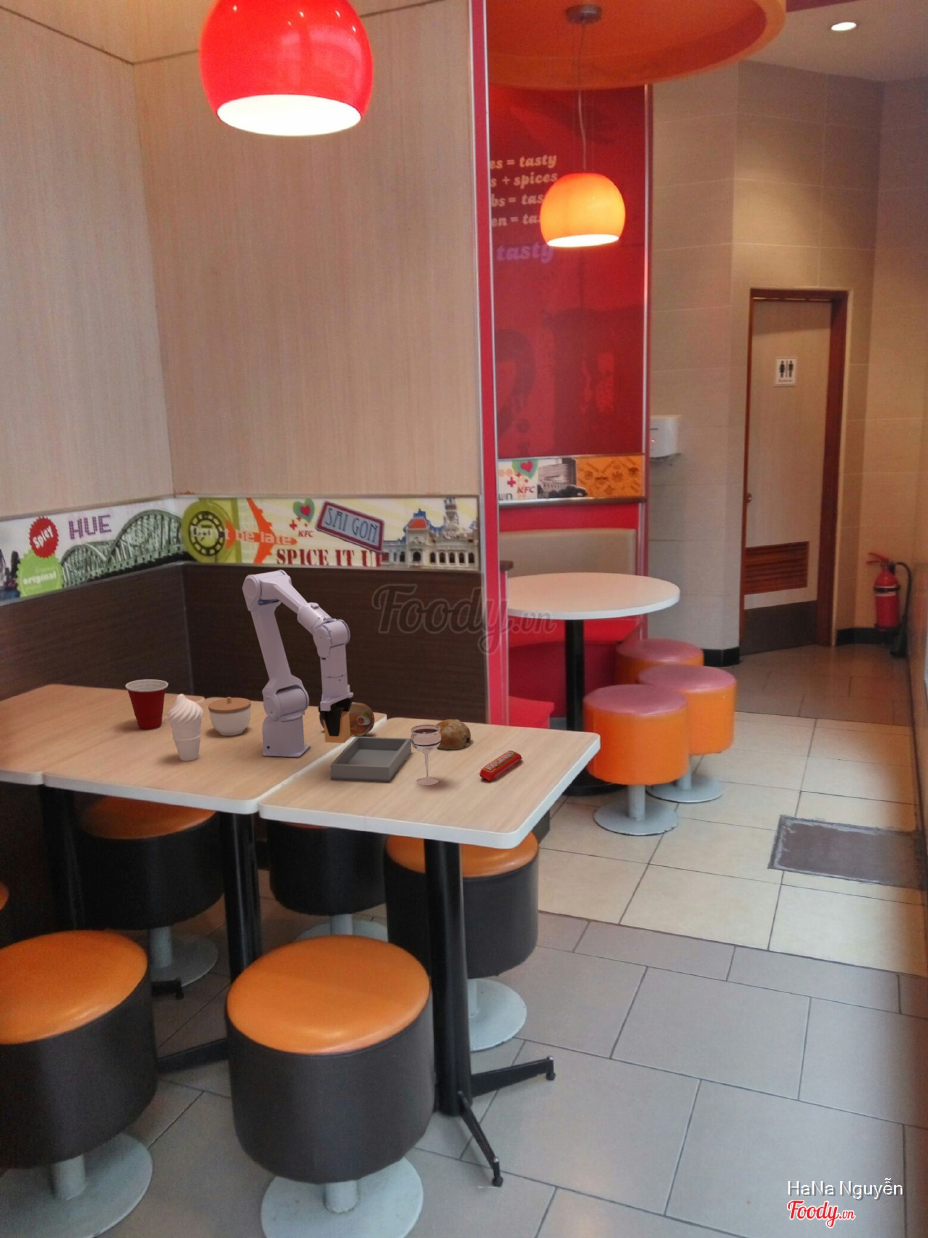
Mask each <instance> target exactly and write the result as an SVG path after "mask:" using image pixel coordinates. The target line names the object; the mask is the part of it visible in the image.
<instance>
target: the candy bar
mask: <svg viewBox="0 0 928 1238" xmlns="http://www.w3.org/2000/svg"><path fill="white" fill-rule="evenodd" d="M522 759H523V757H522V755H521V754H520V753H518V752H516V751H514V750H508V751H506V752H504V753H503V754H501V755H500V756H498V757H497V758H495V759H493V760H492V761H491V762H489V763H488V764H486V765H484V766H483V767H482V768H481V769H480V772H478V774H479V777H481V778H482V779H484V780H486V781H489V782H493V781H495V780H496V778H497V777H498V778H499V776H500V775H501V776H502V775H504V774H505V773H507V772H508V771H510V770H511V769H513V768H514V767H515V765H516V764H517V765H519V764H520V762H521V761H522ZM517 765H516V766H517ZM513 766H514V767H513ZM512 767H513V768H512ZM510 768H511V769H510ZM509 769H510V770H509ZM506 771H507V772H506ZM504 772H505V773H504ZM503 773H504V774H503ZM501 776H500V777H501ZM498 778H497V779H498ZM494 779H495V780H494ZM492 780H493V781H492Z"/></svg>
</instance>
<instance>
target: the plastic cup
mask: <svg viewBox="0 0 928 1238" xmlns="http://www.w3.org/2000/svg"><path fill="white" fill-rule="evenodd" d="M168 686H169V682H167V681H166V680H160V679H146V678H145V679H137V680H133V681H130V682H127V683H126V684H125V689H126V690H127V693H128V697H129V698H130V701H131V702H130V703H131V705H132V709H133V713H134V716H135V719H136V722H137V726H138V728H139V729H140V730H142V731H143V730H145V731H149V730H156V729H159V728H160V727H162V723H163V714H164V704H165V695H166V691H167V688H168Z"/></svg>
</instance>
